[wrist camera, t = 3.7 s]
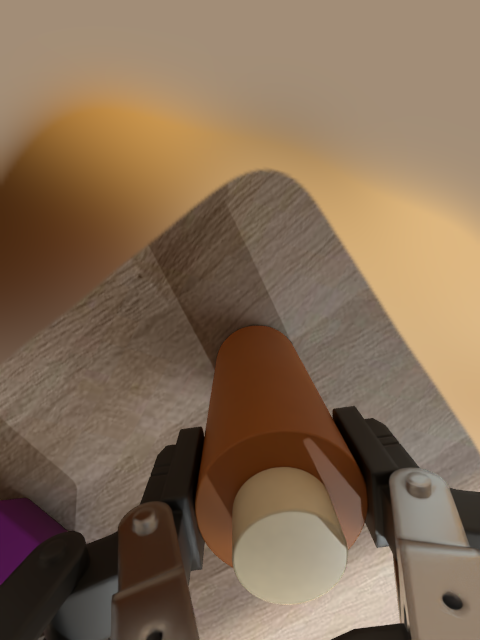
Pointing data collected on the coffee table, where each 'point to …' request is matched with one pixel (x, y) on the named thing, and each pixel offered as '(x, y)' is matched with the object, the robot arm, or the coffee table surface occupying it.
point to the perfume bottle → (22, 532)
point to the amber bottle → (276, 473)
